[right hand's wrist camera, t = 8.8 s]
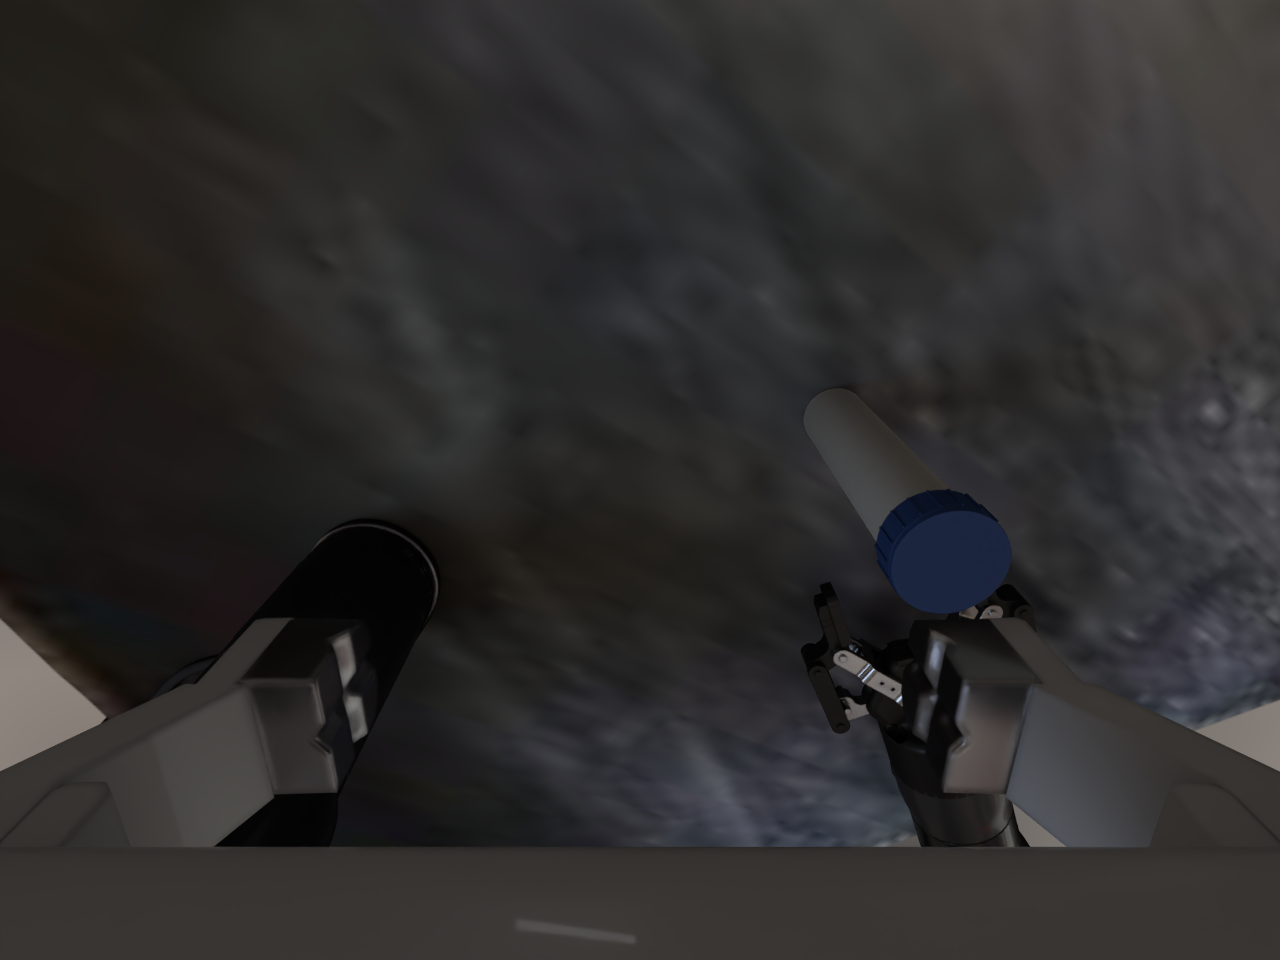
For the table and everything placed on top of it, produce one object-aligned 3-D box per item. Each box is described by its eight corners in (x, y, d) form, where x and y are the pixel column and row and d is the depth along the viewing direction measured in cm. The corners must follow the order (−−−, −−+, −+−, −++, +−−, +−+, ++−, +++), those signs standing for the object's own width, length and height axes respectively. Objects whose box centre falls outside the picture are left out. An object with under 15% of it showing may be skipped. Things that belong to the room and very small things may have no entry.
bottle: (831, 375, 46) (947, 496, 28) (877, 410, 46) (1017, 549, 29) (790, 424, 47) (876, 568, 29) (836, 457, 48) (946, 616, 30)
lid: (930, 465, 29) (951, 486, 27) (1013, 528, 31) (1039, 552, 29) (850, 550, 31) (864, 575, 29) (932, 606, 32) (951, 634, 30)
